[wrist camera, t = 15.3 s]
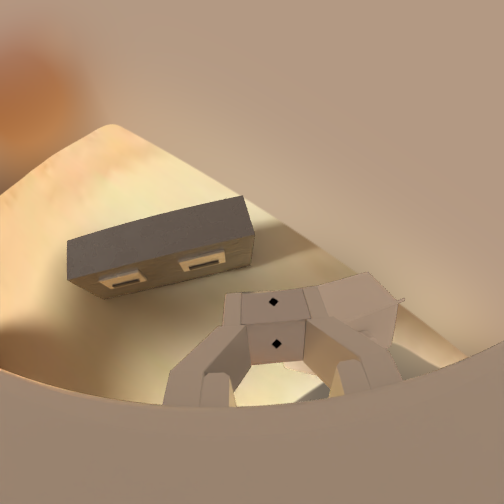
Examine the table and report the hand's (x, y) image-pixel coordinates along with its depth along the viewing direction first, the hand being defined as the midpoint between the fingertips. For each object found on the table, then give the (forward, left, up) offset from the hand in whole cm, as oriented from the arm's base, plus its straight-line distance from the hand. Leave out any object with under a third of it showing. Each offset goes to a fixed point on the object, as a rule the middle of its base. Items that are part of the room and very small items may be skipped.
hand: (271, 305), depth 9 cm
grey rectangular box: (+3, +14, -27) cm, 31 cm away
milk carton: (+5, -6, -27) cm, 28 cm away
